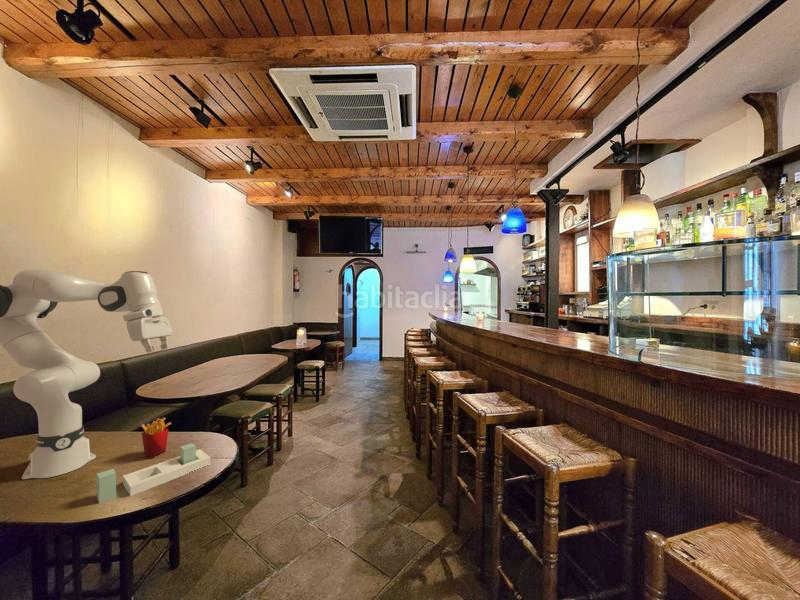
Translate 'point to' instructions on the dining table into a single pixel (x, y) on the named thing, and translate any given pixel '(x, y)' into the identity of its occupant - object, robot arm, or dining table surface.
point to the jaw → (106, 485)
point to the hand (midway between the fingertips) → (158, 350)
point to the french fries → (155, 438)
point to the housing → (166, 470)
